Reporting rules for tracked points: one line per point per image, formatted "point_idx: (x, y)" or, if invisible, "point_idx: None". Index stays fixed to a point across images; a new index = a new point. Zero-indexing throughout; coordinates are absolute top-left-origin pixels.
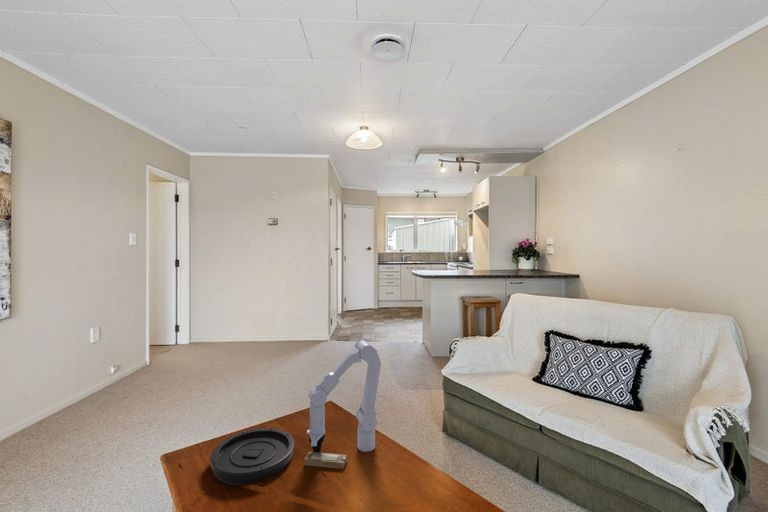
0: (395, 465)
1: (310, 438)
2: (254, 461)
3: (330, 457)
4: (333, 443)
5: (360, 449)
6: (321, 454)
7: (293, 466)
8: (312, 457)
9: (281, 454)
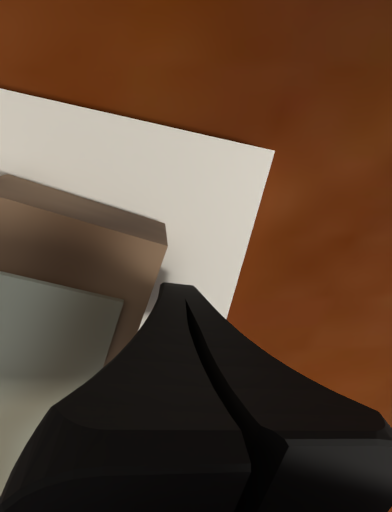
0: None
1: (92, 505)
2: None
3: (14, 458)
4: (343, 379)
5: None
6: (77, 383)
7: (67, 25)
8: (6, 296)
9: None
